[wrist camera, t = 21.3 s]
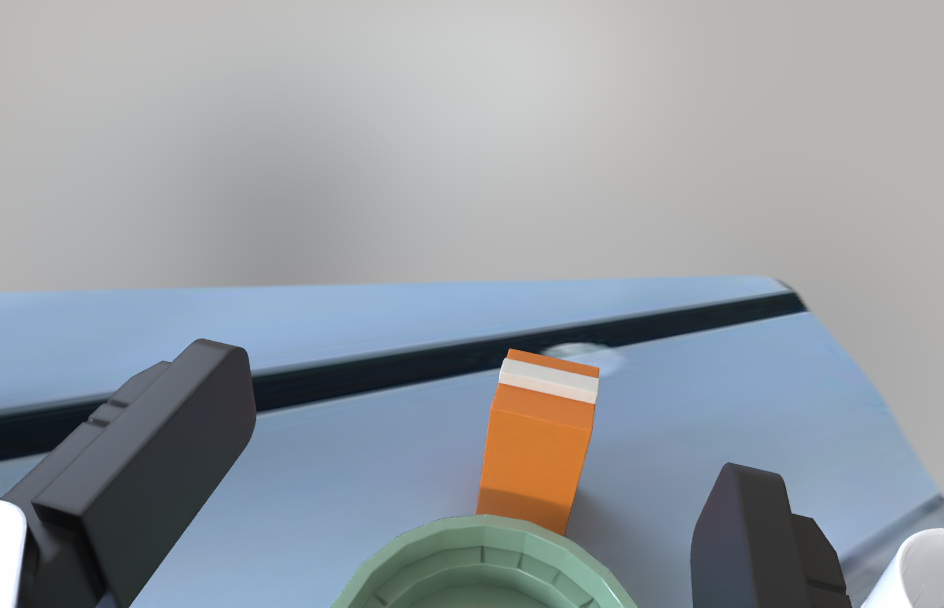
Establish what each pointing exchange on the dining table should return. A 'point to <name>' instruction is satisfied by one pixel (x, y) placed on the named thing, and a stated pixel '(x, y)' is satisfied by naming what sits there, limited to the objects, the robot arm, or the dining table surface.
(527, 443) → the carton
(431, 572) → the bowl
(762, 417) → the dining table surface
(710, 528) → the robot arm
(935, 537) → the white cup
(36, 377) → the dining table surface
